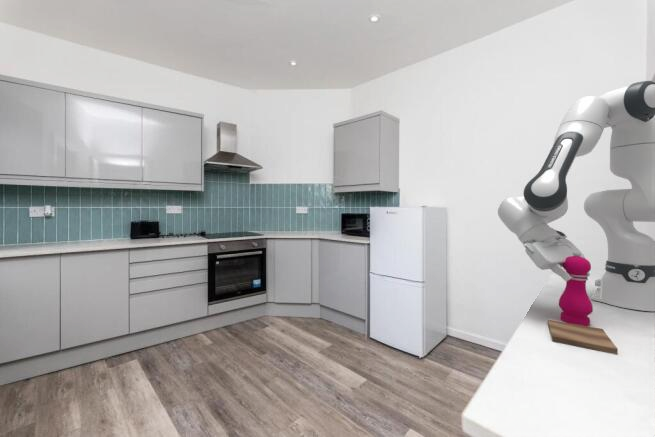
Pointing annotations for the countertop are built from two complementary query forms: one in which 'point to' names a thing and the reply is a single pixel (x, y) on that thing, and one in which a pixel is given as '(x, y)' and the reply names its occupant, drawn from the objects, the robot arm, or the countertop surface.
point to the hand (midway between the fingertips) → (578, 278)
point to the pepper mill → (576, 292)
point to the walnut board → (581, 336)
